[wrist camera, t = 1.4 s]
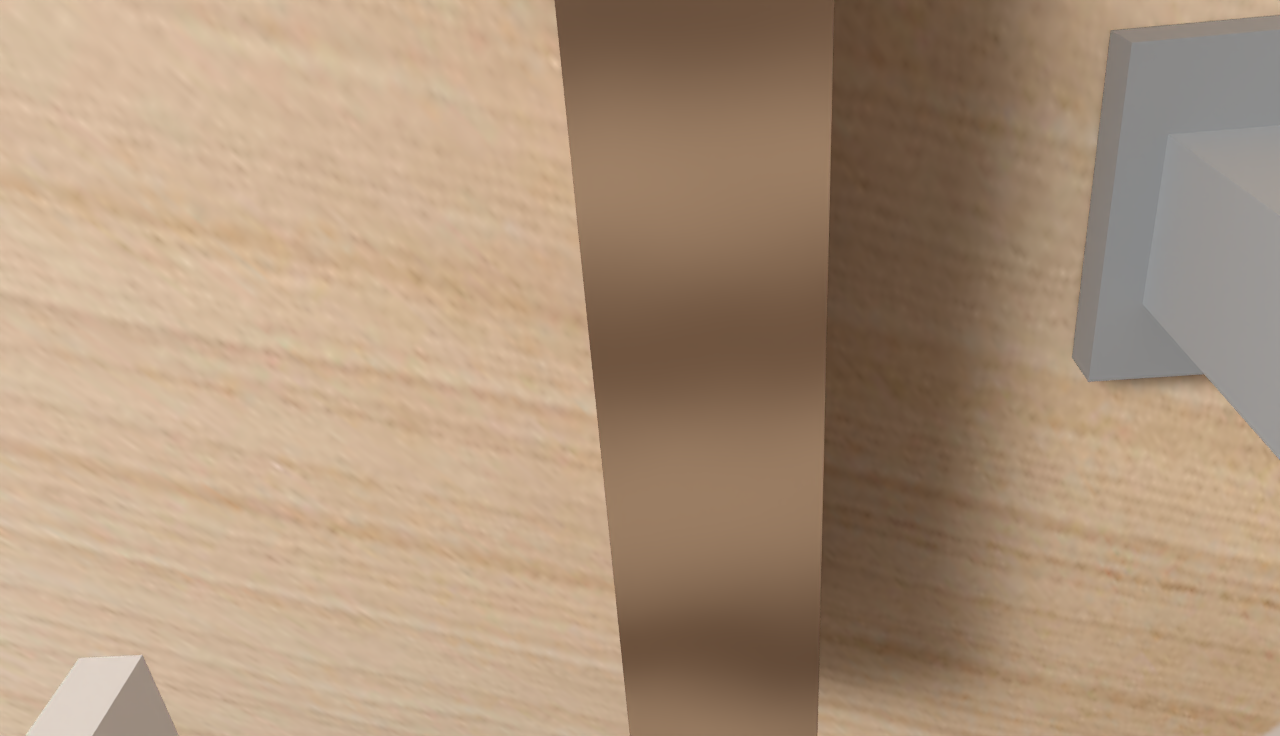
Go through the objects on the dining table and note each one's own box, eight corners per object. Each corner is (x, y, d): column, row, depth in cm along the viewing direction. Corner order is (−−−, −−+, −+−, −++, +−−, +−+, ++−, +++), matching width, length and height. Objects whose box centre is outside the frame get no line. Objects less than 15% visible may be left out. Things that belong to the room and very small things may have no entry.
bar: (793, 580, 30) (817, 747, 25) (640, 585, 31) (631, 750, 25) (799, -318, 20) (842, -355, 14) (563, -299, 20) (521, -328, 15)
